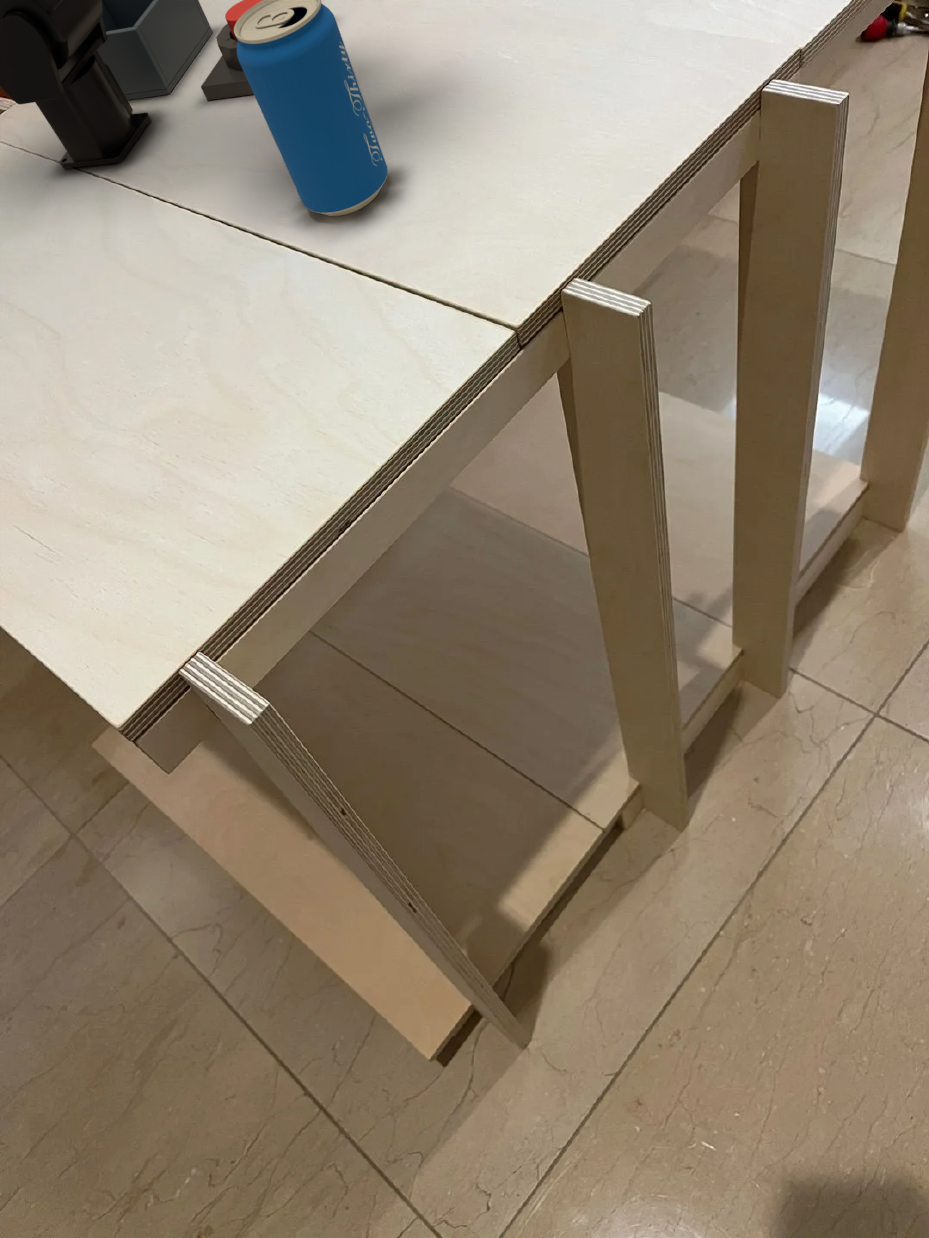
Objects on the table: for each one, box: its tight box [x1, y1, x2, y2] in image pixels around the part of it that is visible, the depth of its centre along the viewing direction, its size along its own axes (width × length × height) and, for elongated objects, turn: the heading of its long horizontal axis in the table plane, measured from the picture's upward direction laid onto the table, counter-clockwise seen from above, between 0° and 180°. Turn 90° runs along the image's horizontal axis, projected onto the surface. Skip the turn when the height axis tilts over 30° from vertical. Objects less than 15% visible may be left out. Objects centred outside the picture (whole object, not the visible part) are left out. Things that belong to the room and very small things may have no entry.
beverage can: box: [234, 0, 389, 217], centre depth 59 cm, size 6×6×12 cm
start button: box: [224, 0, 263, 41], centre depth 76 cm, size 4×4×2 cm
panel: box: [200, 23, 254, 101], centre depth 78 cm, size 10×8×3 cm
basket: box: [97, 0, 214, 101], centre depth 82 cm, size 10×10×6 cm
